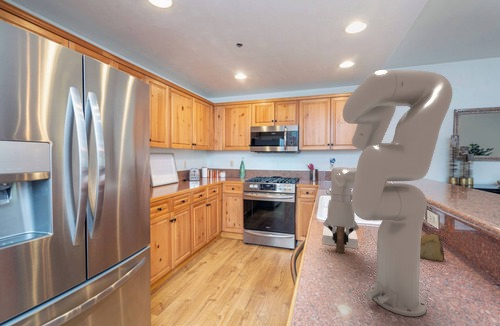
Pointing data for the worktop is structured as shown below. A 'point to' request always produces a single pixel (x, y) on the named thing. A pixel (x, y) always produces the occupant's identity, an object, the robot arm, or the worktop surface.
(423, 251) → the rock
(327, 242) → the hole block
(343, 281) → the worktop surface
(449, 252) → the worktop surface
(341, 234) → the peg
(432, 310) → the worktop surface
